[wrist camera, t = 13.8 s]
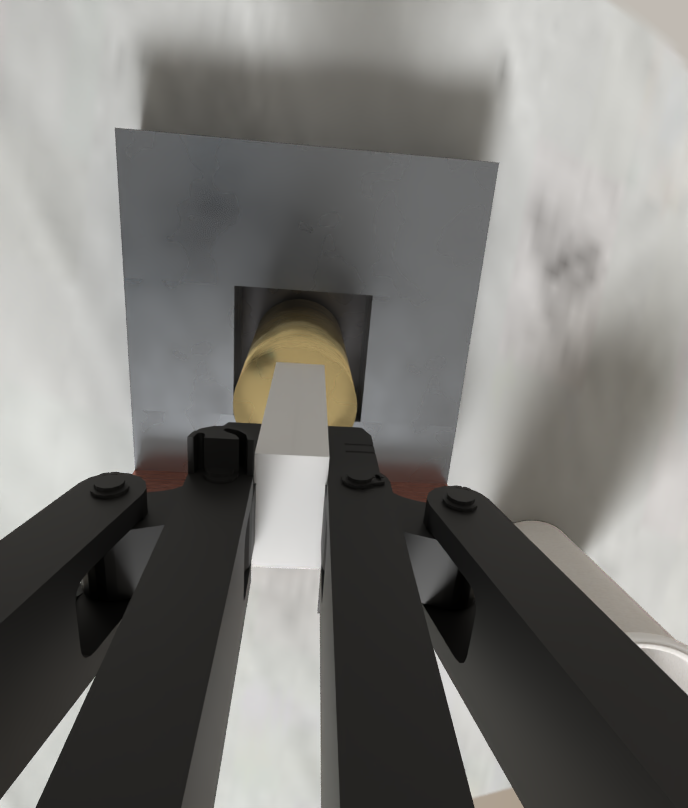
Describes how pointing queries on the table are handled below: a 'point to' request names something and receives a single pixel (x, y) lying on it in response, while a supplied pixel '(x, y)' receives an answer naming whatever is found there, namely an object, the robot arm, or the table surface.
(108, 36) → the table surface
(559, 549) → the dixie cup
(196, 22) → the table surface
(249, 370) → the brass cylinder
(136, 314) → the jig
